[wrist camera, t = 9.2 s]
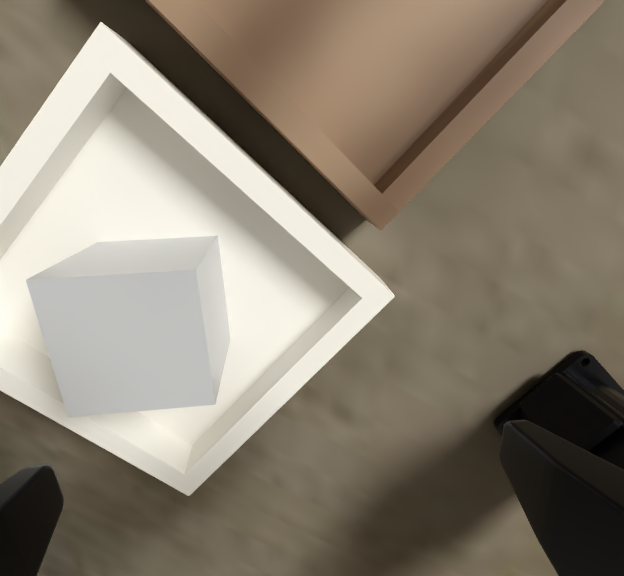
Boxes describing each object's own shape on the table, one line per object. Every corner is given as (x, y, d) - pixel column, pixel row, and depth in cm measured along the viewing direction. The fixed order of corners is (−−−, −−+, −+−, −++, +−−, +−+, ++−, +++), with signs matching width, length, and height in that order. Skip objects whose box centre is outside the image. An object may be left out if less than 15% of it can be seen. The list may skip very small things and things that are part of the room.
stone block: (217, 235, 16) (195, 269, 12) (230, 339, 18) (215, 404, 14) (97, 241, 16) (25, 279, 11) (122, 347, 18) (68, 417, 13)
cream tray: (379, 277, 18) (395, 296, 16) (198, 457, 21) (188, 496, 19) (128, 42, 14) (100, 21, 12) (-59, 303, 17) (-112, 327, 15)
